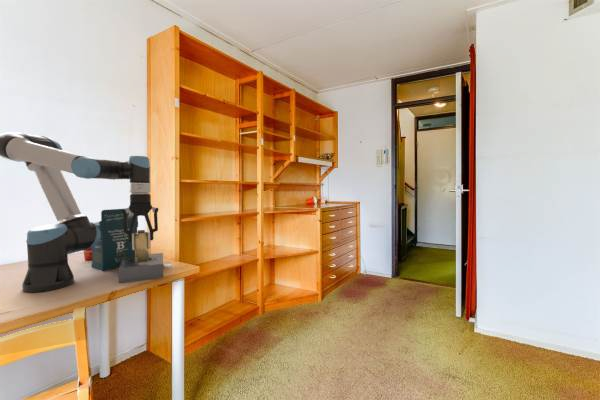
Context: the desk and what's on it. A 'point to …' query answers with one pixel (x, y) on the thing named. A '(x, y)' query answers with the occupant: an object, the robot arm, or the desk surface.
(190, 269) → the desk surface
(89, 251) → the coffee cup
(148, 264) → the housing
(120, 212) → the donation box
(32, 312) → the desk surface
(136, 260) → the tan upright cylinder
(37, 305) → the desk surface
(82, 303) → the desk surface
